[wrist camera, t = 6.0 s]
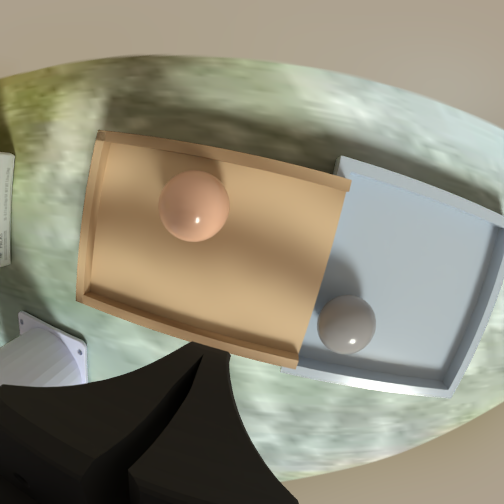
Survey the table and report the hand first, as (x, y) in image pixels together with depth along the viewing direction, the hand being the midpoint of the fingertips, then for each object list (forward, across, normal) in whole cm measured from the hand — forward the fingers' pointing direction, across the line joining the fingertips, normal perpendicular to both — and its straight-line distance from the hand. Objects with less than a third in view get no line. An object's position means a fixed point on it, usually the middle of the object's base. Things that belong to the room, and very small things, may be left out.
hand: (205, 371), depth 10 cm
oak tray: (+10, +3, -2) cm, 11 cm away
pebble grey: (+8, -6, 0) cm, 10 cm away
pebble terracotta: (+6, +3, -4) cm, 8 cm away
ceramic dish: (+10, -10, -2) cm, 14 cm away
